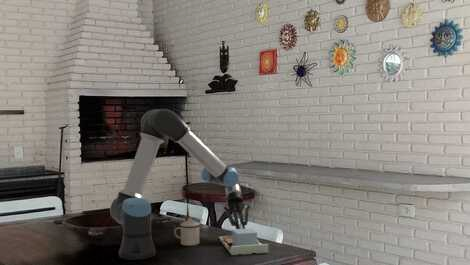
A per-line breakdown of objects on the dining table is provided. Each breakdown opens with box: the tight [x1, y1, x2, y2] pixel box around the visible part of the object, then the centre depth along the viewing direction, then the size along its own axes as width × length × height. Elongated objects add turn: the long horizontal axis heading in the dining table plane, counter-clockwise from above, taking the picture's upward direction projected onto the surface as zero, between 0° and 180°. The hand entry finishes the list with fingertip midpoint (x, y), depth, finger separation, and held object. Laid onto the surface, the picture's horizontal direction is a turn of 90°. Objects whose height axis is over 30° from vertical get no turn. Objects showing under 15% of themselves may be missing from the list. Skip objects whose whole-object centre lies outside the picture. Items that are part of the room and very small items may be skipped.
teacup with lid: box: [173, 217, 201, 247], centre depth 232 cm, size 12×9×12 cm
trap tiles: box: [224, 239, 232, 244], centre depth 237 cm, size 8×11×1 cm
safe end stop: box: [230, 243, 269, 256], centre depth 214 cm, size 1×16×4 cm, turn 103°
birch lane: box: [218, 235, 262, 255], centre depth 228 cm, size 28×16×1 cm, turn 13°
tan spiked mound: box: [184, 203, 203, 228], centre depth 269 cm, size 15×10×13 cm
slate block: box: [231, 228, 258, 246], centre depth 224 cm, size 9×9×8 cm
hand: (242, 237), depth 230 cm, fingers closed
